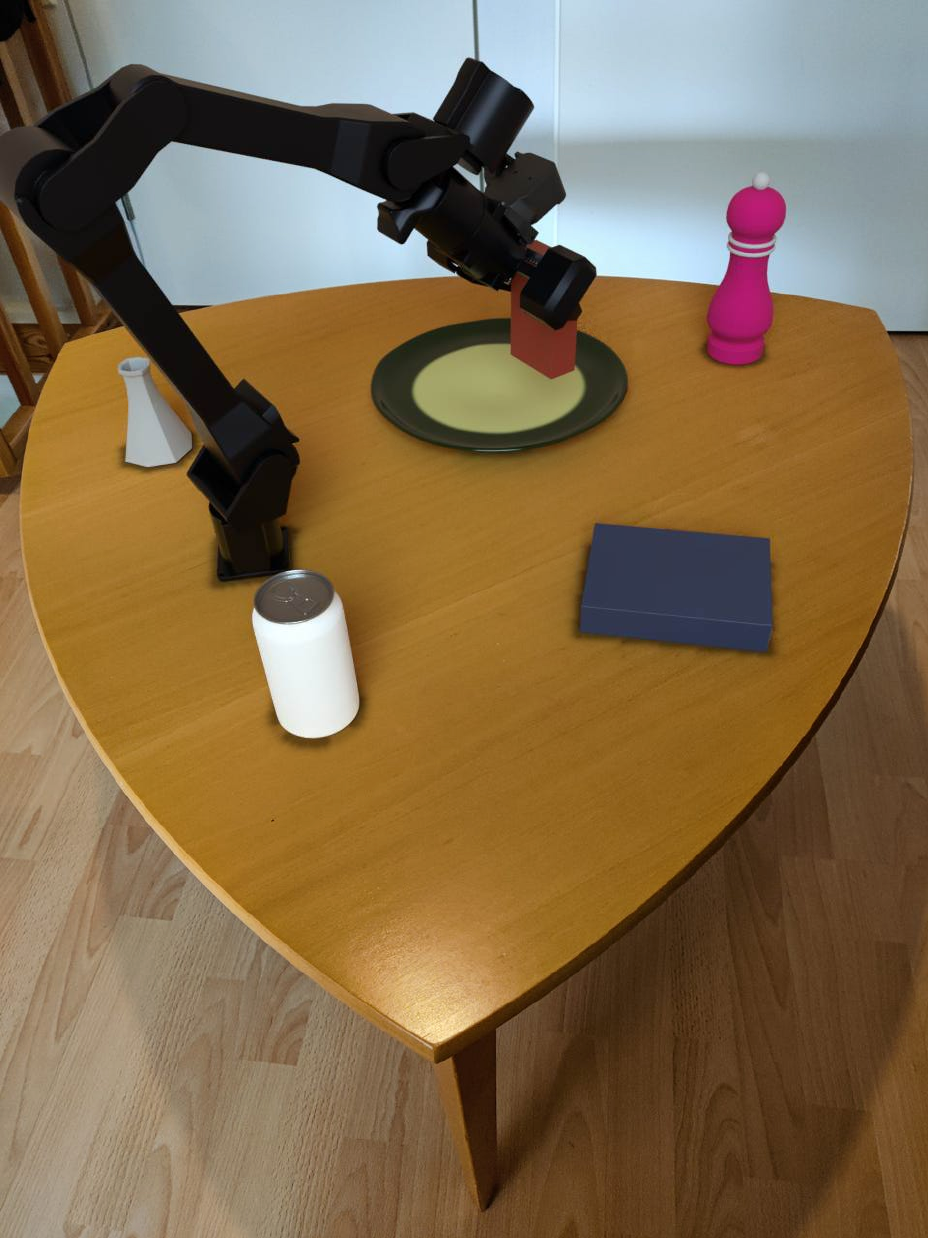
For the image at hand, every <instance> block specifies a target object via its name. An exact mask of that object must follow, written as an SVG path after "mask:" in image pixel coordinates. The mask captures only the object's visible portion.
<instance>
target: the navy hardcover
mask: <svg viewBox="0 0 928 1238" xmlns="http://www.w3.org/2000/svg"><path fill="white" fill-rule="evenodd" d="M589 550H590V551H589V556H588V562H587V568H586V574H585V580H584V587H583V592H582V597H581V604H580V615H579V633H582V634H591V635H599V636H608V637H609V636H611V637H618V638H619V637H620V638H629V639H638V640H648V641H656V642H667V643H675V644H685V645H692V646H693V645H695V646H703V647H712V648H713V647H714V648H722V649H731V650H741V651H751V652H760V653H767V652H768V648H769V644H770V639H771V636H772V632H773V626H774V624H773V623H774V622H773V621H774V620H773V596H772V595H773V594H772V593H773V592H772V565H771V564H772V563H771V562H772V561H771V538H769V537H761V536H760V537H759V536H749V535H747V536H746V535H738V534H737V535H736V534H725V533H715V532H702V531H693V530H691V531H690V530H681V529H679V530H678V529H668V528H659V527H656V528H655V527H648V526H647V527H645V526H634V525H622V524H613V523H612V524H610V523H600V522H595V523H594V525H593V531H592V538H591V544H590V549H589Z"/></svg>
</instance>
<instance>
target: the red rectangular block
mask: <svg viewBox="0 0 928 1238" xmlns="http://www.w3.org/2000/svg"><path fill="white" fill-rule="evenodd" d="M526 247H527V248H529V249H531V250H533V251H535V252H537V253H539V254H541V255H544V254H545V253H546V251H547V250H548V249H549V248H551V247H552V246H550V245H548V244H546V243H544V242H542V241H540V240H538V239H535V240H534V241H533V243H532V244H531V245H529V244H527V246H526ZM524 261H525V260H524ZM525 262H527V263H529V264H531V265H533V264H532V263H530V262H528V261H525ZM533 266H535V267H537V266H536V265H533ZM514 275H515V277H514V279H513V281H512V282H511V292H510V318H511V355H512V356H514V357H515V358H517V359H519V360H520V361H522V362H523V363H525V364H527V365H528V366H530V367H532V368H533V369H535V370H536V371H538V372H540V373H541V374H543V375H545V376H546V377H548V378H549V379H551V380H552V379H554V378H557V377H559V376H562V375H564V374H567V373H569V372H572V371H574V370H575V354H576V336H577V330H578V319H577V320H576V321H567V322H566V324H565V325H564V327H563V328H561V329H558V330H556V331H555V330H553V329H551V328H550V327H548V326H546V325H544V324H543V323H541V322H539V321H537V320H536V319H534V318H533V317H531V316H529V315H527V314H526V313H524V311H523V310H522V309H521V308H520V292H521V291H522V289H523V288H524V286H525V284H526V283H527V281H528V279H526V278H525V277H523V276H521V275H519V274H517V273H515V274H514Z"/></svg>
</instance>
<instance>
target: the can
mask: <svg viewBox="0 0 928 1238" xmlns="http://www.w3.org/2000/svg"><path fill="white" fill-rule="evenodd" d="M344 609H345V608H344V605H343V602H342V599H341V597H340V595H339V594H338V593H337V591H336V589H335V587H334V584H333V582H332V580H330V579H329V578H328V577H327V576H326V575H324V574H323V573H321V572H319V571H316V570H311V569H303V568H302V569H301V568H299V569H297V568H296V569H290V570H289V571H285V572H281V573H279V574H276V575H271V577H268V578H267V579H266V580H264V581H263V582H262V583H261V584H260V585H259V587H258V588H257V589H256V591H255V593H254V596H253V610H252V615H251V620H252V621H251V622H252V626H253V631H254V635H255V638H256V643H257V647H258V650H259V654H260V658H261V662H262V666H263V670H264V674H265V677H266V681H267V685H268V688H269V692H270V696H271V699H272V703H273V707H274V710H275V714H276V716H277V720H278V723H279V724H280V725H281V726H282V727H283V729H285V730H286V731H287V732H288V733H290V734H292V735H293V736H297V737H300V738H305V739H323V738H327V737H331V736H333V735H336V734H337V733H339V732H341V731H342V730H343V729H345V728H347V726H349V725H350V724H351V722H352V721H353V720H354V719H355V718H356V715H357V714H358V711H359V708H360V696H359V688H358V683H357V682H358V681H357V675H356V671H355V670H356V669H355V665H354V660H353V659H354V658H353V653H352V647H351V642H350V636H349V631H348V624H347V621H346V620H347V619H346V614H345V610H344Z"/></svg>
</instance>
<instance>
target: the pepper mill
mask: <svg viewBox="0 0 928 1238" xmlns="http://www.w3.org/2000/svg"><path fill="white" fill-rule="evenodd" d="M770 184H771V177H770V175H769V174H768V173H767V172H766V171H758V172H756V173H755V175H754V176H752V179H751V185H749V186H747V187H744V188H741V189H740V190H739V191H737V192H736V193H734V195H733V196H732V197H731V199H730V201H729V203H728V205H727V209H726V213H725V215H726V216H725V219H726V224H727V227H729V230H730V232H729V233H728V235H727V240H728V241H727V242H726V248H727V250H728V252H729V257H728V259H729V260H728V263H727V268H726V271H725V274H724V276H723V278H722V280H721V282H720V283H719V285H718V287H717V289H716V291H715V292H714V294H713V296H712V298H711V299H710V302H709V305H708V309H707V312H706V313H707V314H706V323H707V326H708V327H709V328H710V330H711V332H710V333H709V334H708V337H707V345H706V352H707V354H708V355H709V357H711V358H712V359H713V360H715V361H717V362H719V363H722V364H726V365H734V366H739V365H740V366H741V365H747V364H752V363H754V362H756V361H758V360H759V359H760V358H761V357H762V356H763V353H764V347H765V337H764V335H765V334H766V333H768V331H769V330H770V329H771V327H772V324H773V322H774V313H775V310H774V309H775V308H774V301H773V297H772V293H771V288H770V286H769V280H768V279H769V278H768V270H769V269H768V266H769V260H770V255H771V254H773V253H774V252H775V250H776V243H777V239H778V237H777V235H776V233H778V232H779V230H780V229H781V228H783V226H784V223H785V220H786V217H787V205H786V200H785V198H784V197H783V195H782V193H780V192H779V191H778V190H776V189H775V188H773V187H770Z"/></svg>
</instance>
